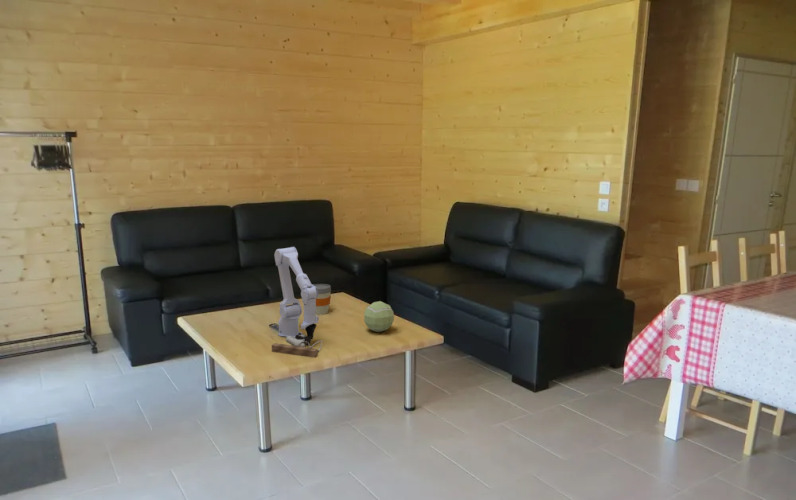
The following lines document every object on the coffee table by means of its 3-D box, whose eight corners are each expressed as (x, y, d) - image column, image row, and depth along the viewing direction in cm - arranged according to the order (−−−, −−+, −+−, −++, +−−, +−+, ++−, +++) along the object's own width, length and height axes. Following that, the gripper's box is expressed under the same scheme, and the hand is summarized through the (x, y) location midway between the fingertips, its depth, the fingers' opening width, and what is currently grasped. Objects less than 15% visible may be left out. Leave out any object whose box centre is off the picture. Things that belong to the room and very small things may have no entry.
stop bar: (271, 351, 266) (271, 345, 266) (275, 349, 269) (275, 343, 269) (314, 357, 259) (314, 351, 259) (317, 355, 262) (317, 348, 262)
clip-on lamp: (326, 354, 271) (298, 339, 280) (329, 342, 270) (301, 327, 279) (310, 360, 261) (281, 343, 270) (312, 347, 260) (284, 331, 269)
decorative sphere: (399, 332, 294) (399, 304, 291) (373, 337, 286) (373, 308, 283) (384, 324, 306) (384, 297, 304) (359, 329, 299) (359, 301, 296)
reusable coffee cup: (311, 308, 334) (310, 283, 331) (333, 309, 334) (332, 283, 331) (307, 315, 322) (306, 289, 319) (329, 315, 321) (329, 289, 318)
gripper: (310, 317, 266) (310, 345, 269) (324, 308, 280) (324, 335, 282) (296, 315, 269) (297, 343, 271) (311, 306, 282) (311, 333, 285)
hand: (310, 338), depth 277 cm, fingers closed, pressing on clip-on lamp
